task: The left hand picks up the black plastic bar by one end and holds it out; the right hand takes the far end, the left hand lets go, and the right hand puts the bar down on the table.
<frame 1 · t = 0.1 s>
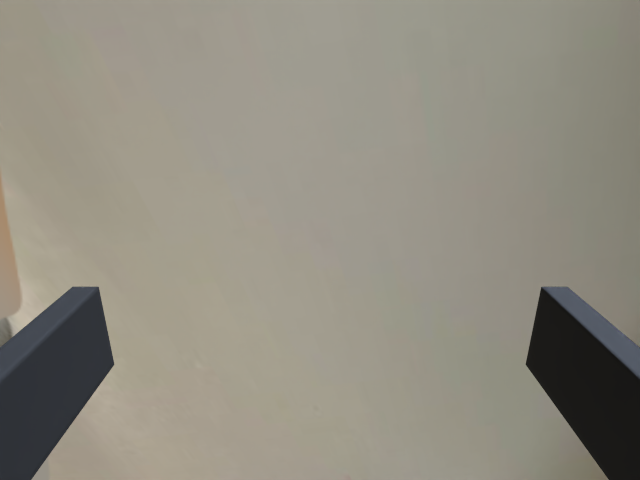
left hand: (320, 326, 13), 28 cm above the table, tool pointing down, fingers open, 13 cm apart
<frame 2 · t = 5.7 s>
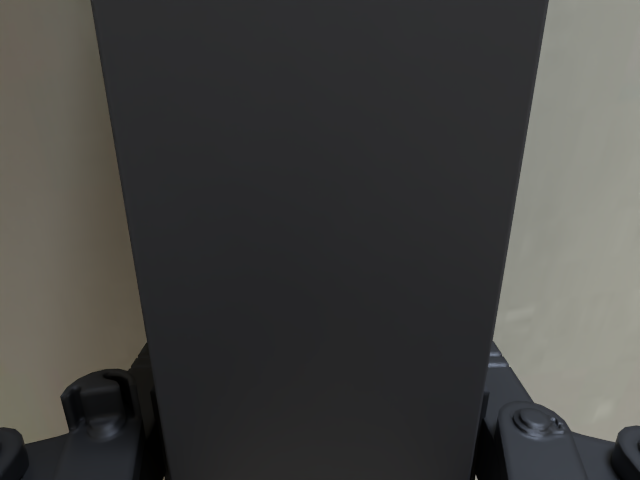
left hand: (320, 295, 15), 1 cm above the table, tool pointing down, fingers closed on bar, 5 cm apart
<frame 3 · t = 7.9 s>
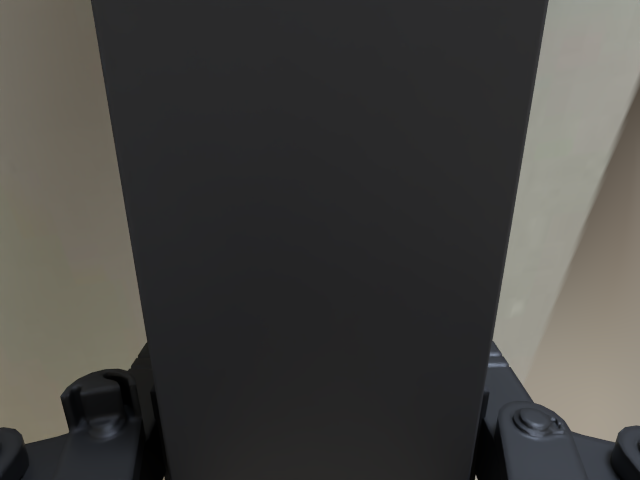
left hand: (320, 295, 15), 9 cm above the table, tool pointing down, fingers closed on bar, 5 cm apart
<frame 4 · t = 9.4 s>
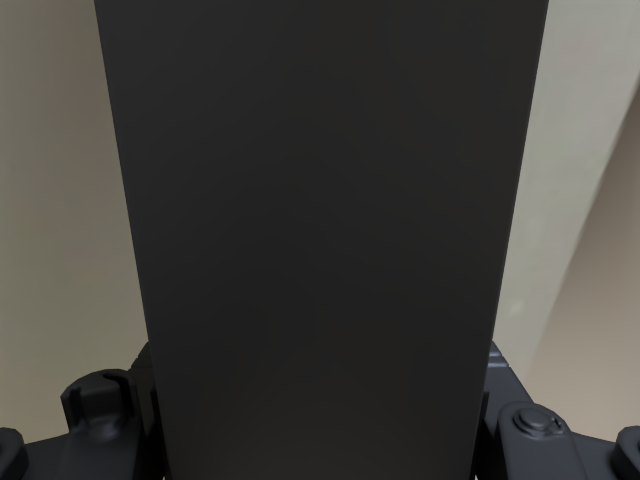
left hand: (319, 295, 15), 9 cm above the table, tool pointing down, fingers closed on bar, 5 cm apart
when the left hand's fingers open (9 cm above the table, at t = 10.3 s): bar stays where it is, held by the right hand.
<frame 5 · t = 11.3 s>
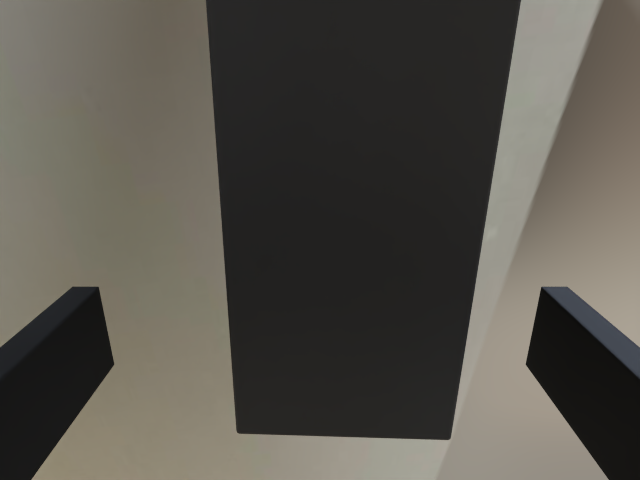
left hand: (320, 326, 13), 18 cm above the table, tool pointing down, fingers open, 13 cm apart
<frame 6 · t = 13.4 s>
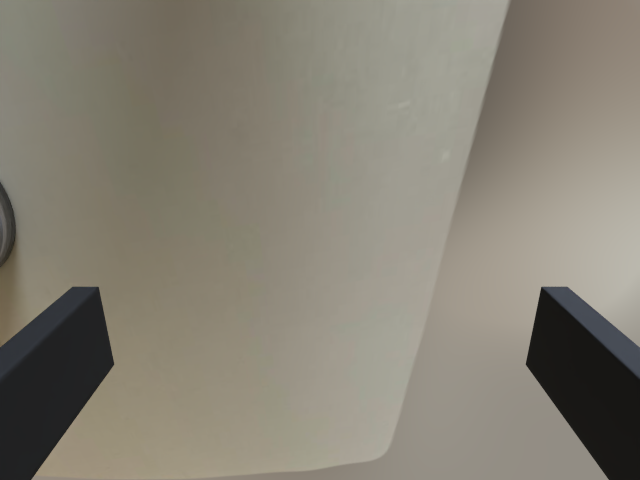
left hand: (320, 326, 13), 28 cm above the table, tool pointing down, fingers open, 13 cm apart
when the right hand's fingers open (5 cm above the table, at t = 17.3 s): bar drops 1 cm, on the table.
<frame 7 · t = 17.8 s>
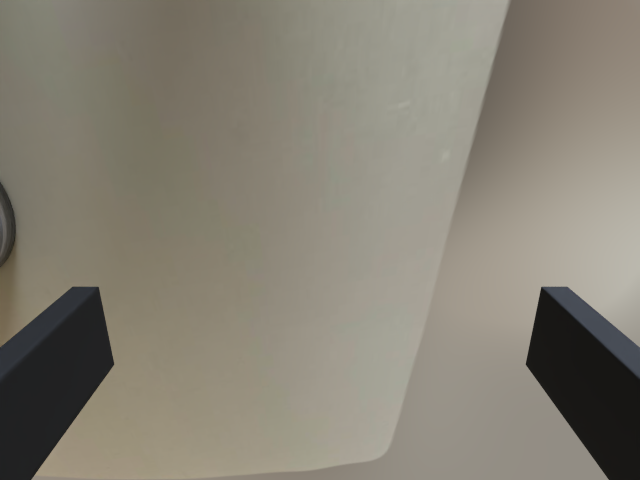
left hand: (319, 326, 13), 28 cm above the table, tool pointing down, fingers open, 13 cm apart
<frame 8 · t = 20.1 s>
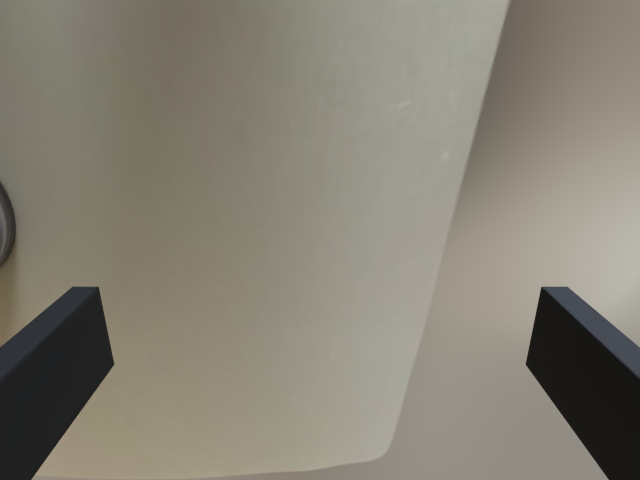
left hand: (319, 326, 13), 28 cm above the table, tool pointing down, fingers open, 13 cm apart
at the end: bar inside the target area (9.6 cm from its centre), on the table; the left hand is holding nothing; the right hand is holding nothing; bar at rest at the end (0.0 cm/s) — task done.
